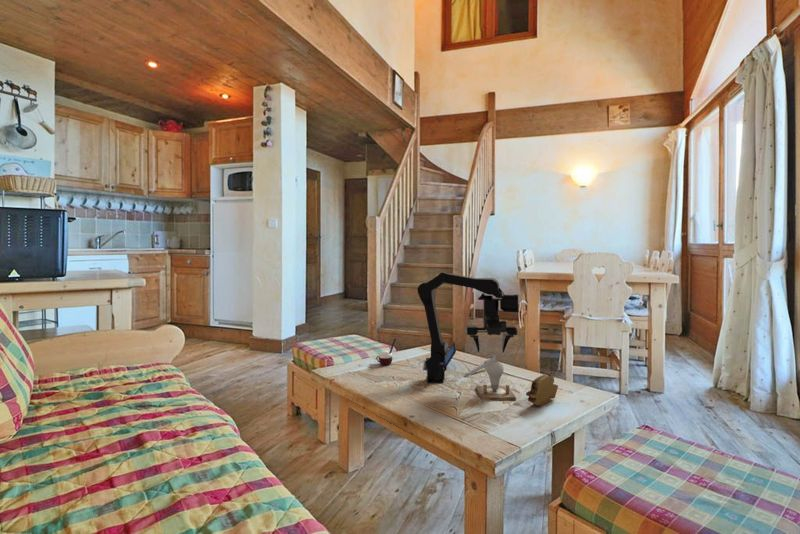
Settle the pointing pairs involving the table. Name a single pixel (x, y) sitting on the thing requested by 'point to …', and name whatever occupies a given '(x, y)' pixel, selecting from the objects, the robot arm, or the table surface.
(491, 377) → the lightbulb
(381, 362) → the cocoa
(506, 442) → the table surface
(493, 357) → the caliper
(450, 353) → the handheld game console
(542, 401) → the wooden carving
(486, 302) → the robot arm
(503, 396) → the pin holder
